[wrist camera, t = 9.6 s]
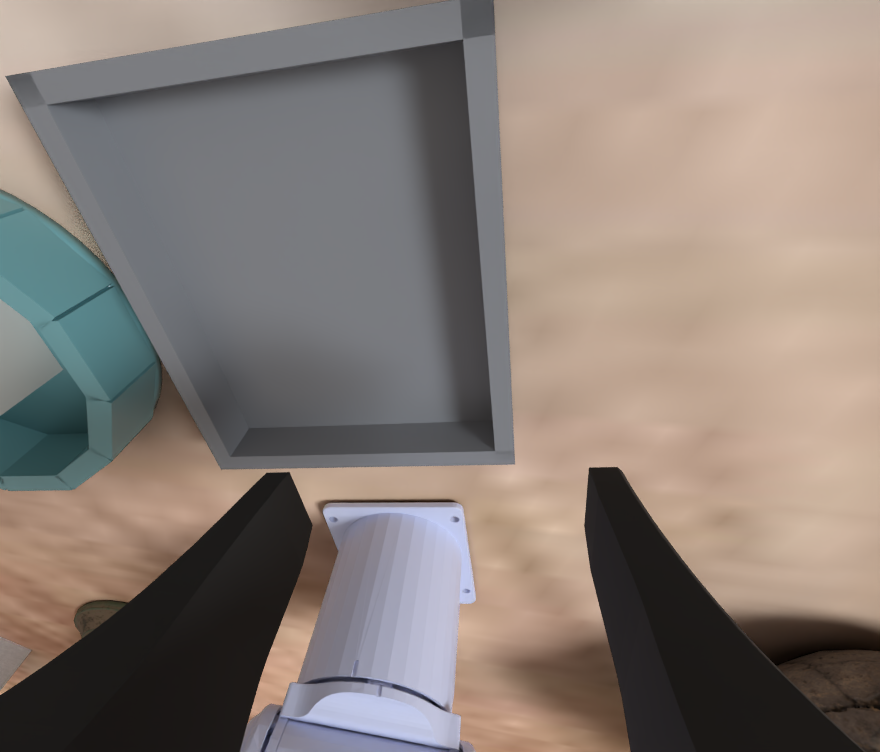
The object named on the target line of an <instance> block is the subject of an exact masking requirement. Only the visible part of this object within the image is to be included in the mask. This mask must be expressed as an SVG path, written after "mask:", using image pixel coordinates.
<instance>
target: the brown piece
mask: <svg viewBox="0 0 880 752" xmlns="http://www.w3.org/2000/svg"><path fill="white" fill-rule="evenodd" d="M777 667H778V668H779V669H780V670H781V672H782V673H783V674H784V675H785V676H786V677H787V678H788V679H789V680H790V681H791V682H792V683H793V684H794V685H796V686H797V687H798V688H799V689H800V690H801V691H802V692H803V693H804V694H805V695H806V696H807V697H808V698H809V699H810V700H811V701H812V702H813V703H814V704H816V705H817V706H818V707H819V708H820V709H821V710H822V711H823V712H824V713H825V714H826V715H827V716H828V717H829V718H830V719H831V720H832V721H833V722H834V723H835V724H837V725H838V726H839V727H840V728H841V729H842V730H843V731H844V732H845V733H846V734H847V735H848V736H849V737H850V738H851V739H852V740H853V741H854V742H856V743H857V744H858V745H859V746H860V747H861V748H862V749H863V750H864V751H866V752H880V651H870V650H837V651H819V652H815V653H812V654H809V655H805V656H802V657H799V658H796V659H793V660H790V661H787V662H785V663H782V664H780V665H777Z"/></svg>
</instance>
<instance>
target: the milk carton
mask: <svg viewBox="0 0 880 752" xmlns="http://www.w3.org/2000/svg"><path fill="white" fill-rule="evenodd" d="M31 651H32V650H30V649H28V648H26V647H23V646H21V645H19V644H16V643H14V642H12V641H9V640H7V639H5V638H3V637H0V690H1V689H2V688H3V687H4V685H5V684H6V683H7V681H8V680H9V679H10V678H11V676H12V675H13V674H14V672H15V671H16V670H17V669H18V667H19V666H20V665H21V663H22V662H23V661H24V660H25V658H26V657H27V656H28V654H29V653H30V652H31Z"/></svg>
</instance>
